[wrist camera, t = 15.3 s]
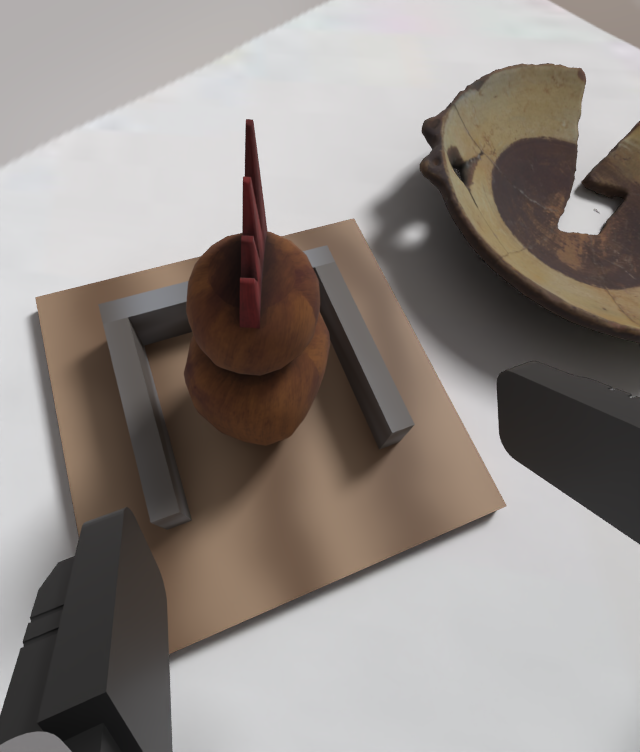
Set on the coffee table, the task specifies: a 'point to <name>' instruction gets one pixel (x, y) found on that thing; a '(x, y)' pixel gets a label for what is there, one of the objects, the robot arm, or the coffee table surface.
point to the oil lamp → (540, 194)
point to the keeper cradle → (252, 461)
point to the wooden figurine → (255, 326)
